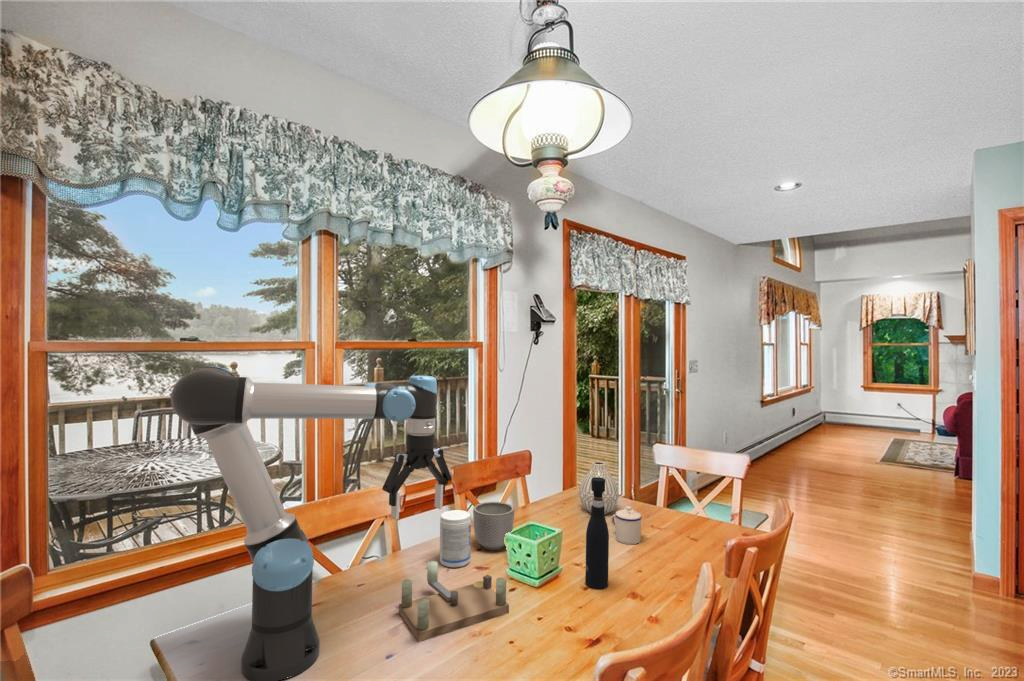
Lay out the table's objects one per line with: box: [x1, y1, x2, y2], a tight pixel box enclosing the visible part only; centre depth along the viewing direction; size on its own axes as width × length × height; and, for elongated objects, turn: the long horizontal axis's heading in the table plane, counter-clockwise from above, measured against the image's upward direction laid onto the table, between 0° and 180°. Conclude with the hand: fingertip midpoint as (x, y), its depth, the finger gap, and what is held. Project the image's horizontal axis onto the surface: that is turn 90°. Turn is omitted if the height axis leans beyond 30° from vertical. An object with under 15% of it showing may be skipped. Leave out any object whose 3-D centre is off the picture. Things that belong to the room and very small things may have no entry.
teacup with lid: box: [610, 505, 643, 545], centre depth 172 cm, size 12×9×12 cm
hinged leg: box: [426, 560, 451, 602], centre depth 129 cm, size 12×3×6 cm, turn 37°
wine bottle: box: [584, 477, 610, 590], centre depth 139 cm, size 6×6×30 cm
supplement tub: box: [439, 509, 472, 569], centre depth 152 cm, size 10×10×15 cm
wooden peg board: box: [398, 574, 510, 642], centre depth 123 cm, size 24×14×8 cm, turn 122°
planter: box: [472, 501, 515, 552], centre depth 164 cm, size 14×14×13 cm
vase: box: [578, 460, 619, 516], centre depth 200 cm, size 16×16×20 cm
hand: (417, 512), depth 130 cm, fingers open, 13 cm apart
